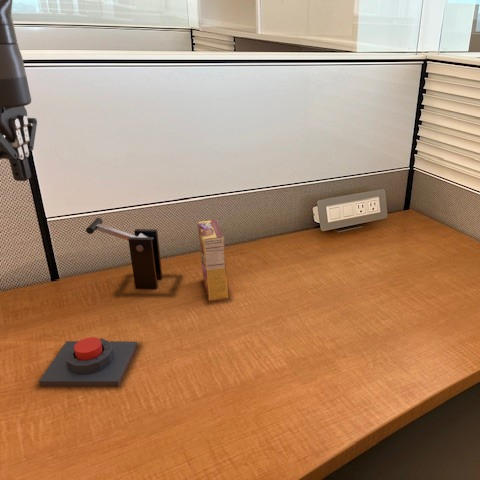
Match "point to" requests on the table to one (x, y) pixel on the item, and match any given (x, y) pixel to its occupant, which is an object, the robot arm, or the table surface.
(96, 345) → the button
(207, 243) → the candy box
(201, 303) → the table surface
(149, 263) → the bracket
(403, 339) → the table surface
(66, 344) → the control block
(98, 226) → the lever
